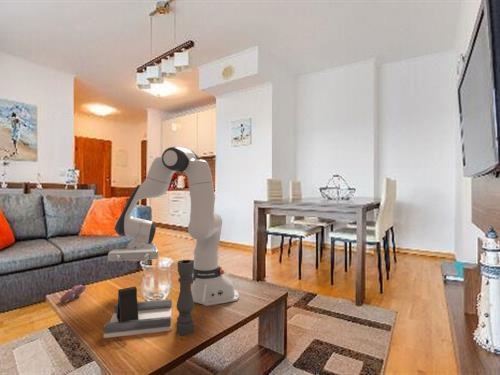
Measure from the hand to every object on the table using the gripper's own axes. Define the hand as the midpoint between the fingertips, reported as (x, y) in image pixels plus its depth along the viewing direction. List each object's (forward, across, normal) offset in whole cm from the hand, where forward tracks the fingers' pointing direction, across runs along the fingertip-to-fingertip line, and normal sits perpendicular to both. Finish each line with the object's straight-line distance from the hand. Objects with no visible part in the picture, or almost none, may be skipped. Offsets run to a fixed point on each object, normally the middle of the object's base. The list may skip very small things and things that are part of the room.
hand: (131, 259), depth 117 cm
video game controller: (-18, -26, +22) cm, 39 cm away
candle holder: (+22, +21, +21) cm, 37 cm away
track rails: (+11, +5, +21) cm, 24 cm away
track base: (+11, +5, +21) cm, 24 cm away
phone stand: (+11, 0, +20) cm, 23 cm away
